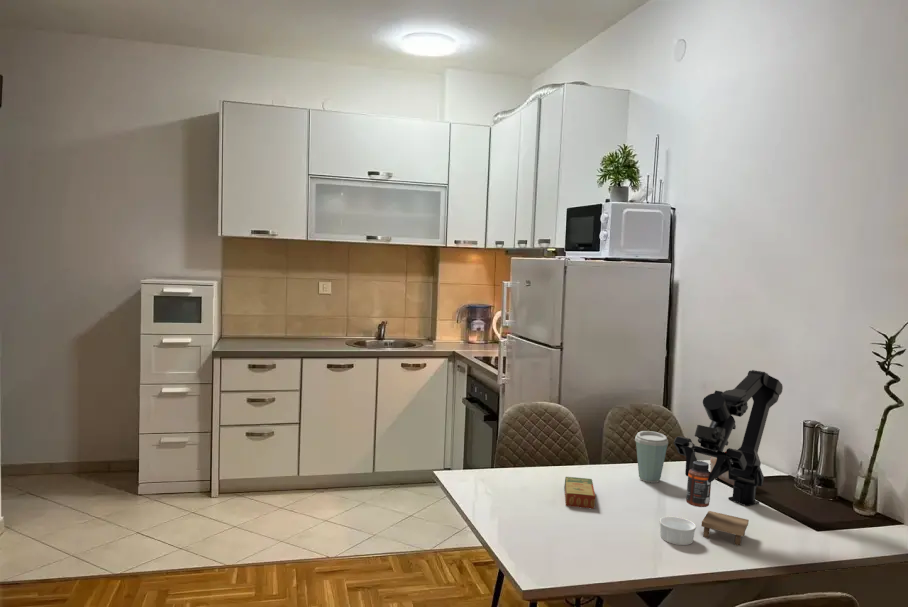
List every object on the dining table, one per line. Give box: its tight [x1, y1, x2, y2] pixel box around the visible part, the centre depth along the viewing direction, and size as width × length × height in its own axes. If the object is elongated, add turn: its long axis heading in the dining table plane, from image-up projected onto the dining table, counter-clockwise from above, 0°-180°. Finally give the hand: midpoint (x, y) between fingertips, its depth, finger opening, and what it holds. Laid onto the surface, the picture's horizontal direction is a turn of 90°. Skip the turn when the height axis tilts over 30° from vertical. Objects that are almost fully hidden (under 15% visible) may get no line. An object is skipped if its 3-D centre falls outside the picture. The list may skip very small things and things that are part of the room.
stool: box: [701, 510, 749, 546], centre depth 178 cm, size 10×10×4 cm
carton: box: [563, 476, 597, 510], centre depth 200 cm, size 8×16×4 cm, turn 172°
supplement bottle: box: [685, 460, 712, 508], centre depth 183 cm, size 6×6×11 cm
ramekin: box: [659, 516, 697, 546], centre depth 174 cm, size 9×9×4 cm
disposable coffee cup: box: [634, 430, 669, 484], centre depth 221 cm, size 11×11×15 cm
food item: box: [709, 456, 735, 487], centre depth 226 cm, size 14×8×10 cm, turn 19°
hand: (697, 478), depth 182 cm, fingers closed on supplement bottle, 6 cm apart
